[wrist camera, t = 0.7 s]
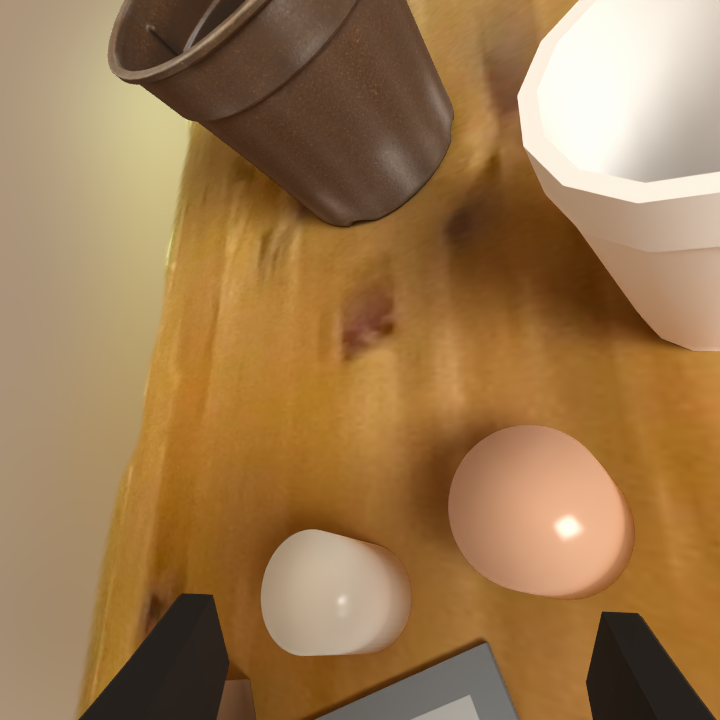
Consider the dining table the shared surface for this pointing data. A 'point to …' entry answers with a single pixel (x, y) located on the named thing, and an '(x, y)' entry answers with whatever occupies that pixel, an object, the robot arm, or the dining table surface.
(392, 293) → the dining table surface
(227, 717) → the walnut block
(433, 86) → the plant pot
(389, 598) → the cream rounded capsule
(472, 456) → the peach rounded blob
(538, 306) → the dining table surface
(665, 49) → the foam cup
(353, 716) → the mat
